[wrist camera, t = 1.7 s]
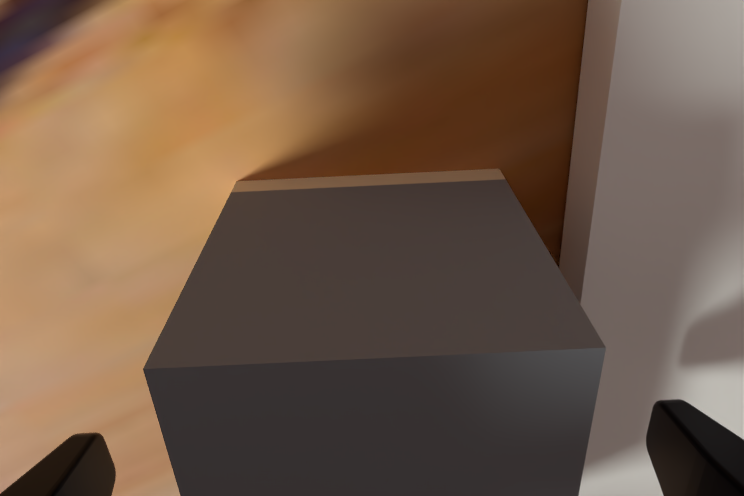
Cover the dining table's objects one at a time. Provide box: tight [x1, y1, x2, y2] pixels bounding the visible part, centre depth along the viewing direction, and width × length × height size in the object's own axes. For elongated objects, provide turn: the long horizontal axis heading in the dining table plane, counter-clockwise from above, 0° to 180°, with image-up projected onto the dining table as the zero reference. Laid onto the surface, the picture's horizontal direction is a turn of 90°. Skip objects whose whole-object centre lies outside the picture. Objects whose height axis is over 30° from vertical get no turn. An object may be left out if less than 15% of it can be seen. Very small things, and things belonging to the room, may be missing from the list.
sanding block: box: [143, 169, 606, 496], centre depth 9 cm, size 7×4×5 cm, turn 3°
